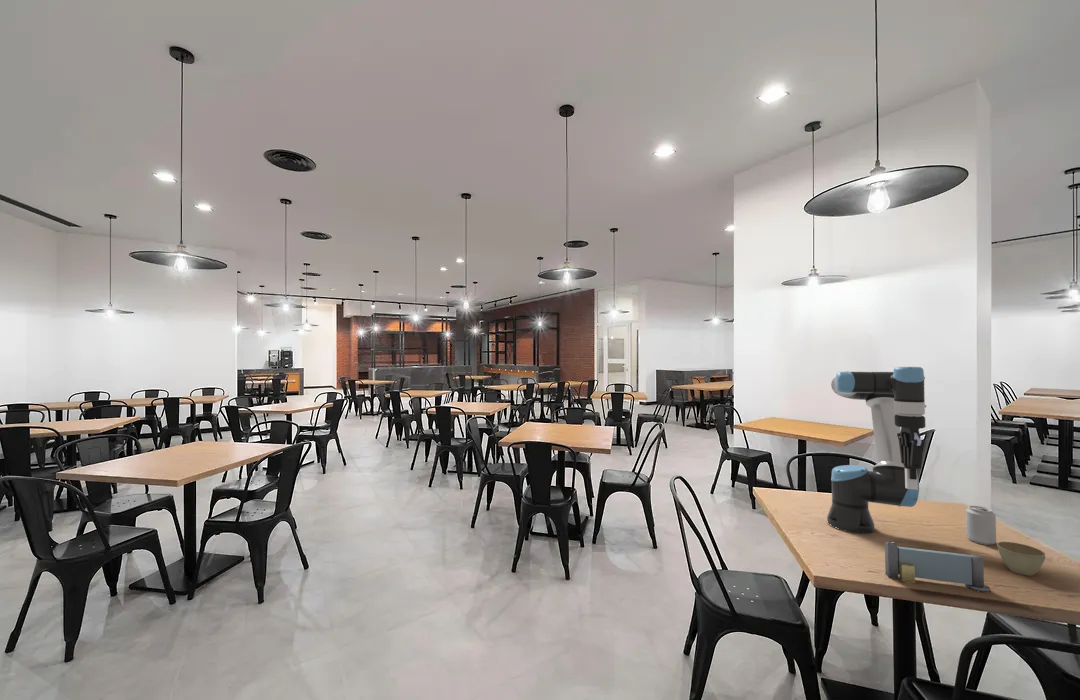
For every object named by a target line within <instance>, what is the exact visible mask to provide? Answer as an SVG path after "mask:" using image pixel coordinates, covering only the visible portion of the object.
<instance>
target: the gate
mask: <svg viewBox="0 0 1080 700" xmlns="http://www.w3.org/2000/svg"><path fill="white" fill-rule="evenodd" d="M899 562H903V563H911V564H912V565H913V566H914V567H915V579H924V580H933V581H940V582H947V583H954V584H963V585H965V584H968V585H974V586H977V587H984V585H985V571H984V569H985V568H984V566H985V565H984V557H983V556H981V555H978V554H973V553H971V554H965V553H957V552H950V551H949V552H948V551H938V550H932V549H931V550H930V549H922V548H913V547H906V546H898V575H899Z"/></svg>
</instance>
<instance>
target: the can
mask: <svg viewBox="0 0 1080 700" xmlns="http://www.w3.org/2000/svg"><path fill="white" fill-rule="evenodd" d="M993 511H994V510H993V509H991V508H989V507H985V506H981V505H968V506H967V508H966V509H965V526H966V527H965V531H966V532H965V533H966V534H965V535H966V538H968V539H969V540H970V541H971V542H973V543H975V544H976V543H977V544H980V545H984V546H985V545H986V546H993V545H994V544H997V525H996V524H997V520H996V518H997V517H996V514H995V513H994V512H993Z"/></svg>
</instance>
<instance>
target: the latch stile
mask: <svg viewBox="0 0 1080 700" xmlns="http://www.w3.org/2000/svg"><path fill="white" fill-rule="evenodd" d="M898 547H899V545H898V544H897V543H896V542H895V541H888V540H885V541H884V559H885V562H884V565H885V575H886V576H887V577H888V578H889V579H896V580H900V581H901V582H902V583H907V584H916V578H915V567H914V566H913V565H912V564H911V563H903V562H899V574H898Z"/></svg>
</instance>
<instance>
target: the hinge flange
mask: <svg viewBox="0 0 1080 700" xmlns="http://www.w3.org/2000/svg"><path fill="white" fill-rule="evenodd" d="M964 586H965V588H968V589H969V590H971V589H972V591H974V590H975V592H977V591H979V592H978V593H982V592H989V593H990V592H991V589H990V587H989V586H988V585H986V584H984V587H977V586H974V585H968V584H964Z"/></svg>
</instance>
